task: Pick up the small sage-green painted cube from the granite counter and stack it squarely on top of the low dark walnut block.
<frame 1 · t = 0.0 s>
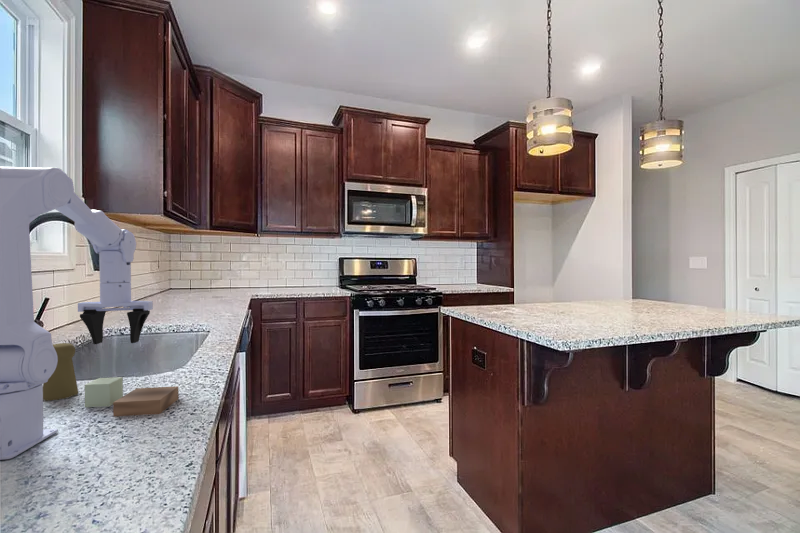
hand: (116, 342, 88), 10 cm above the worktop, fingers open, 7 cm apart
walnut block: (148, 409, 76), on the worktop
sage cube: (104, 403, 79), on the worktop
cork: (60, 396, 83), on the worktop
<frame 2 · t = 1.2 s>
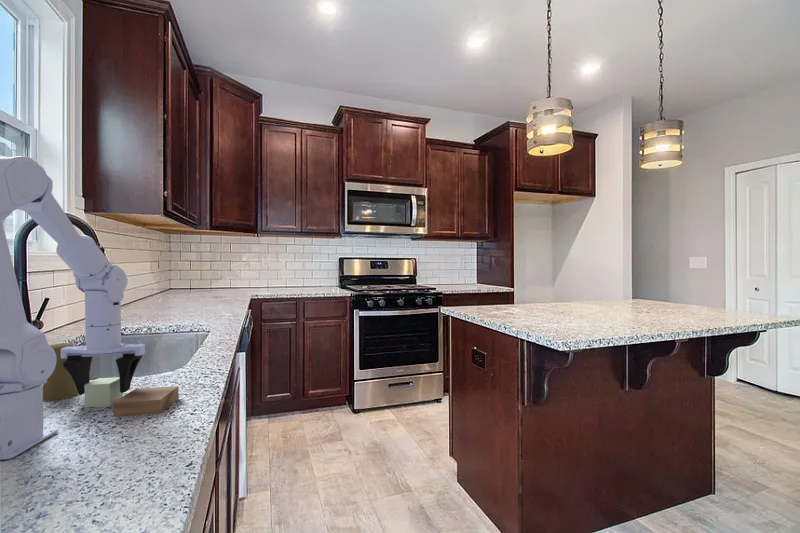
hand: (104, 392, 79), 2 cm above the worktop, fingers open, 7 cm apart
nothing on the worktop moved.
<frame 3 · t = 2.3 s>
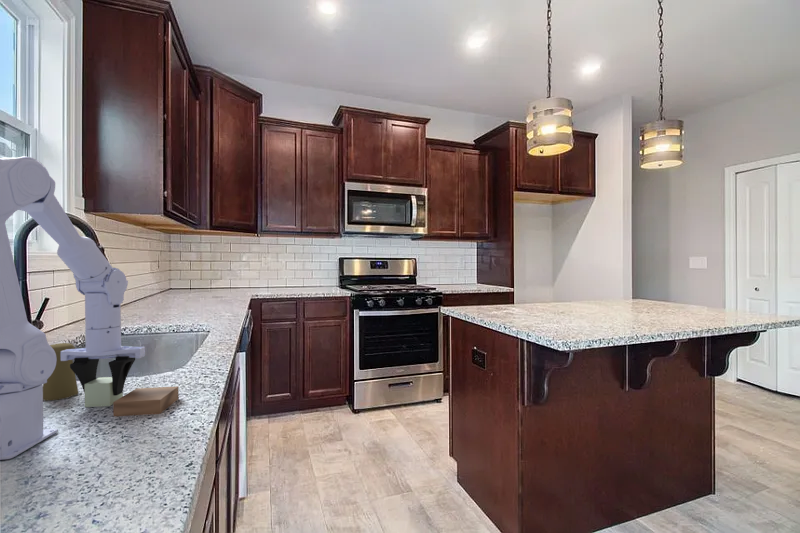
hand: (104, 394, 79), 2 cm above the worktop, fingers closed on sage cube, 4 cm apart
sage cube: (104, 402, 79), on the worktop, touching gripper
everything else where it was.
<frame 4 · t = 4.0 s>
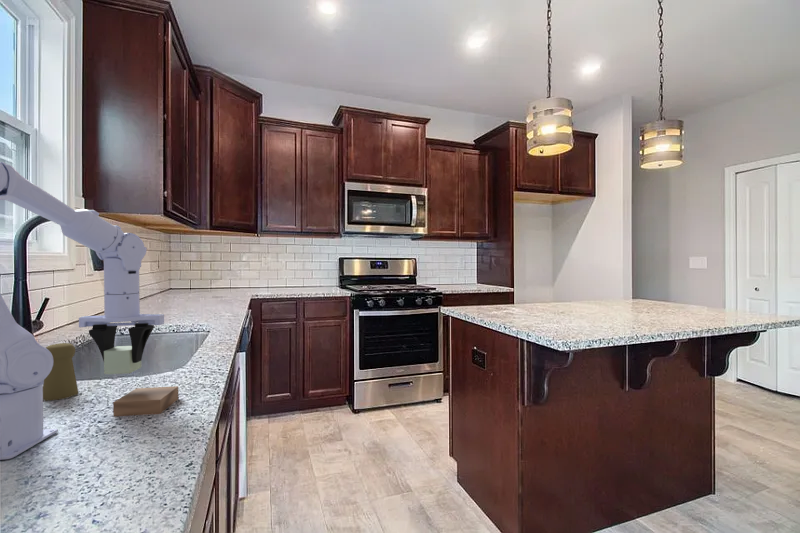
hand: (123, 362, 78), 8 cm above the worktop, fingers closed on sage cube, 4 cm apart
sage cube: (123, 370, 78), point 7 cm above the worktop, touching gripper
everything else where it was.
when the fingers open (6 cm above the worktop, at t = 5.8 s): sage cube drops 1 cm, resting on walnut block.
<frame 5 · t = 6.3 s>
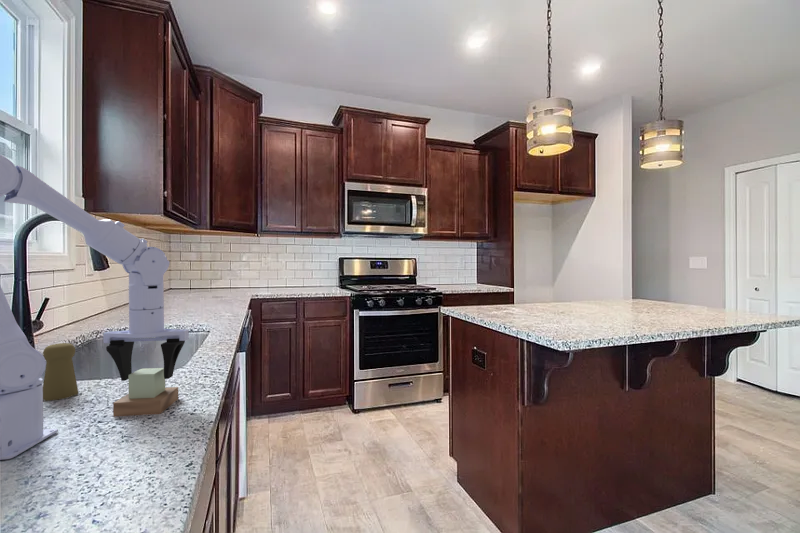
hand: (147, 378, 76), 6 cm above the worktop, fingers open, 7 cm apart
walnut block: (147, 409, 76), on the worktop, touching sage cube
sage cube: (147, 394, 76), point 2 cm above the worktop, touching walnut block
everything else where it was.
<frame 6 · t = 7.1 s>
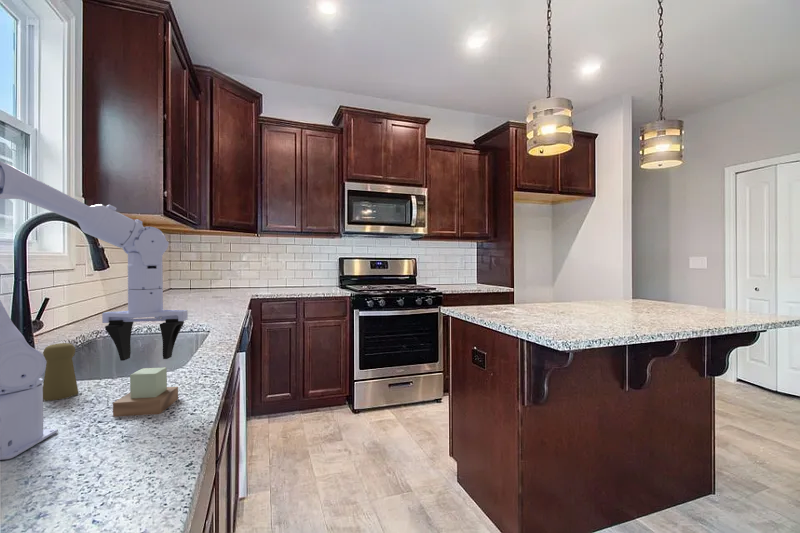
hand: (146, 358, 76), 9 cm above the worktop, fingers open, 7 cm apart
nothing on the worktop moved.
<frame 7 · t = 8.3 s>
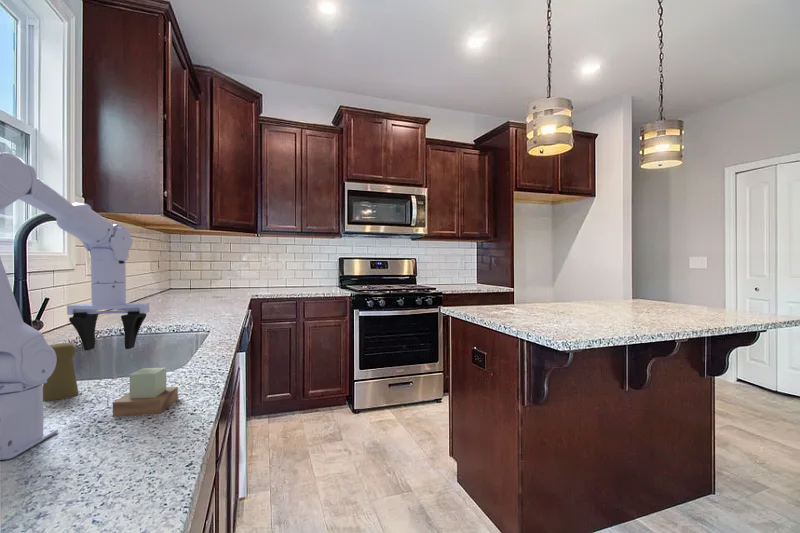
hand: (109, 348, 81), 10 cm above the worktop, fingers open, 7 cm apart
walnut block: (147, 409, 76), on the worktop
sage cube: (148, 394, 76), point 3 cm above the worktop
everything else where it was.
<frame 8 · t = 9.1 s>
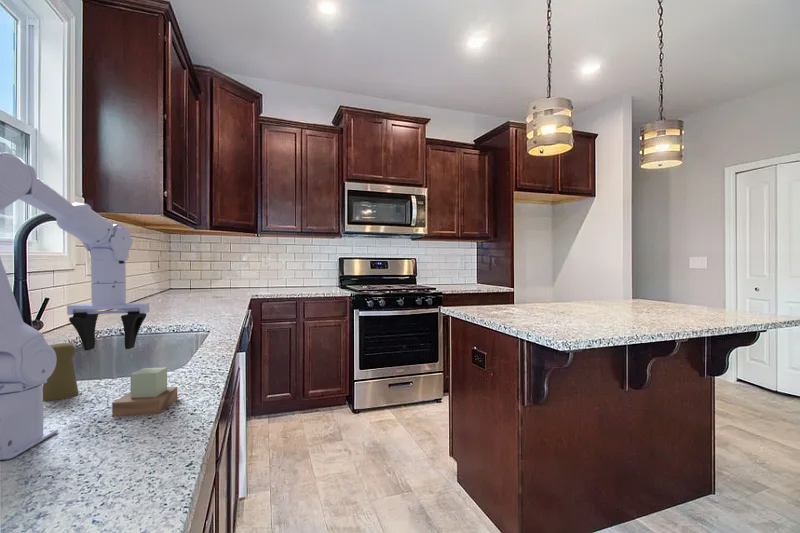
hand: (109, 348, 81), 10 cm above the worktop, fingers open, 7 cm apart
walnut block: (146, 409, 76), on the worktop, touching sage cube
sage cube: (149, 393, 77), point 3 cm above the worktop, touching walnut block
everything else where it was.
at the end: sage cube 0.4 cm off-centre on the walnut block, point 3.0 cm above the walnut block's base; sage cube tilted 1°; the gripper is holding nothing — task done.
